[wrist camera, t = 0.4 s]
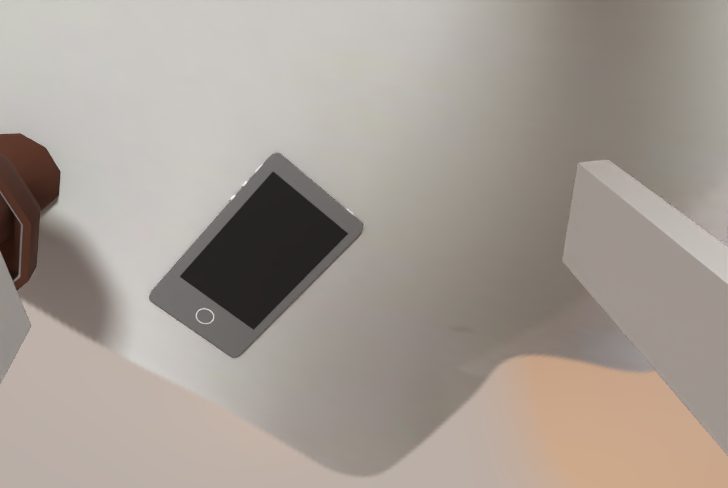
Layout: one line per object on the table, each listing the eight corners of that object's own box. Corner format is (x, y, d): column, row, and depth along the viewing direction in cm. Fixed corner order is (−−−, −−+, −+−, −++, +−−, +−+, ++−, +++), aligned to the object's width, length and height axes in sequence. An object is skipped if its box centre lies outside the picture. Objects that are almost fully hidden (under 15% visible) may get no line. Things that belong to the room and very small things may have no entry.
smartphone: (276, 145, 39) (274, 148, 38) (366, 222, 41) (367, 226, 41) (147, 292, 43) (144, 297, 43) (236, 354, 46) (234, 359, 45)
